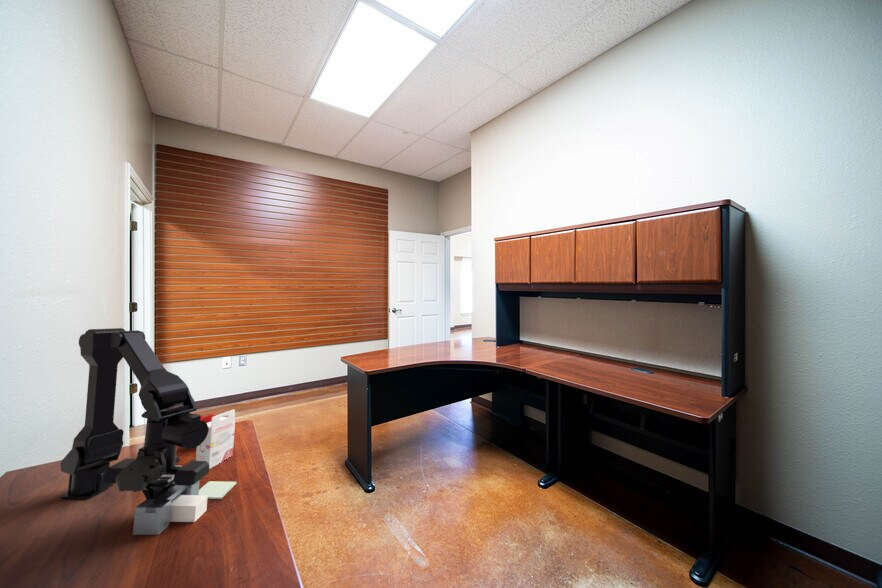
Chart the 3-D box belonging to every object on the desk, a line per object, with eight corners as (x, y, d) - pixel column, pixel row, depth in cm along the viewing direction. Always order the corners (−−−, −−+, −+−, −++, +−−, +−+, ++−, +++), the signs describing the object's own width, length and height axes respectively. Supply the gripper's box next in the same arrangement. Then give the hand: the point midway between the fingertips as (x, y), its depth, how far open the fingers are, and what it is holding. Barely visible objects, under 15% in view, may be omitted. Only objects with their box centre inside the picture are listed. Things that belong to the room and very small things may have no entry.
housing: (132, 534, 66) (135, 507, 66) (176, 499, 78) (178, 476, 78) (158, 534, 66) (161, 507, 67) (198, 499, 78) (199, 477, 79)
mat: (190, 498, 79) (190, 496, 79) (209, 482, 86) (209, 481, 86) (220, 498, 79) (221, 497, 79) (236, 483, 86) (236, 481, 86)
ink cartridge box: (219, 454, 101) (223, 406, 102) (233, 456, 100) (237, 408, 101) (193, 467, 93) (198, 415, 94) (208, 470, 92) (212, 417, 93)
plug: (150, 521, 70) (152, 505, 70) (165, 510, 74) (166, 494, 74) (194, 521, 71) (195, 506, 71) (206, 510, 75) (207, 495, 75)
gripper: (79, 454, 64) (70, 535, 63) (179, 457, 65) (171, 537, 65) (129, 432, 75) (122, 501, 74) (213, 435, 76) (207, 503, 76)
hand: (154, 510), depth 72 cm, fingers closed
